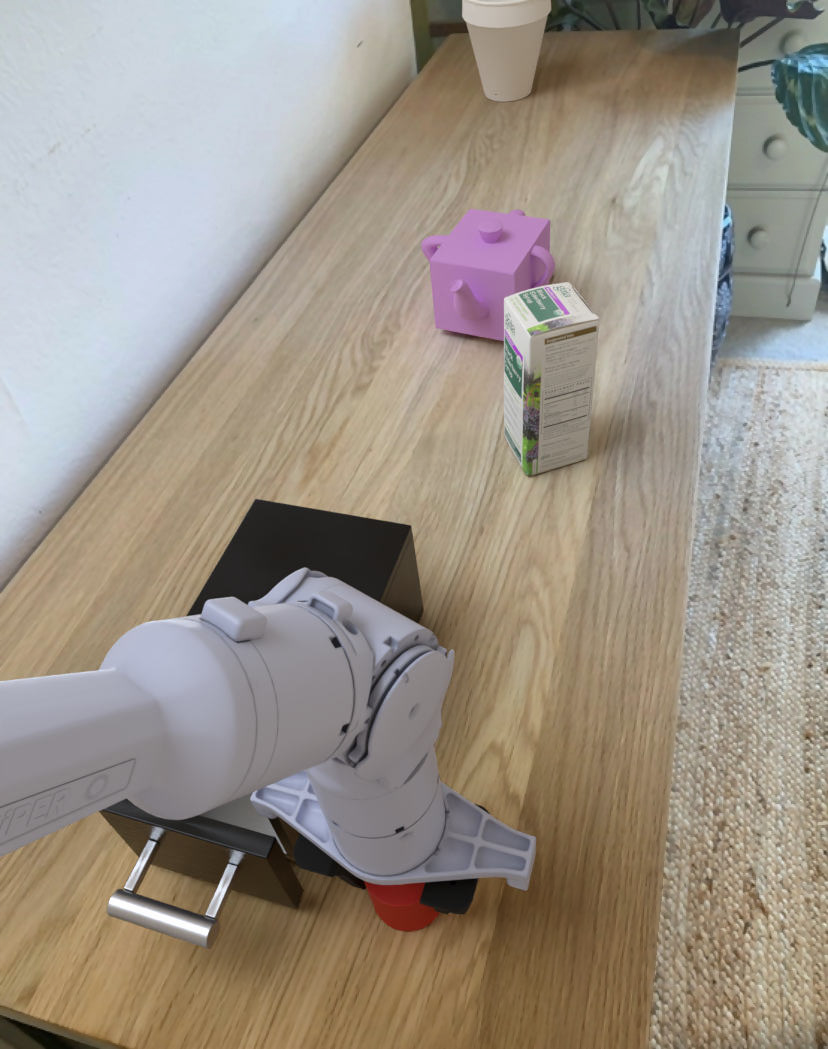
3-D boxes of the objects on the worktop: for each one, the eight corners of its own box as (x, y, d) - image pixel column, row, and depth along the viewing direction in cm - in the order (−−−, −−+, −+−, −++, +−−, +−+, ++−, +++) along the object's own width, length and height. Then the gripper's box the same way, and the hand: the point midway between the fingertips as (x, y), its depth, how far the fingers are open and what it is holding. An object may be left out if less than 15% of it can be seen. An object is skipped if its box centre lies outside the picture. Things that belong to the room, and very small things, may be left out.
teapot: (518, 383, 81) (518, 290, 73) (387, 356, 85) (374, 266, 78) (577, 281, 91) (582, 190, 84) (457, 262, 96) (452, 175, 88)
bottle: (433, 941, 48) (425, 908, 44) (361, 919, 50) (346, 885, 45) (454, 865, 51) (448, 828, 47) (385, 846, 52) (374, 808, 48)
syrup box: (501, 437, 76) (498, 295, 65) (563, 419, 77) (570, 276, 66) (526, 479, 72) (527, 336, 61) (591, 459, 73) (602, 315, 62)
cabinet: (362, 775, 56) (339, 698, 48) (205, 734, 59) (161, 657, 52) (424, 610, 64) (411, 524, 57) (283, 582, 67) (255, 498, 60)
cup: (543, 109, 121) (545, 1, 111) (458, 109, 123) (452, 4, 113) (554, 74, 128) (557, -30, 118) (474, 75, 131) (470, -27, 121)
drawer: (267, 987, 47) (231, 943, 41) (105, 931, 50) (50, 883, 44) (369, 722, 57) (351, 657, 51) (230, 689, 60) (199, 624, 54)
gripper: (551, 737, 40) (545, 850, 50) (269, 672, 44) (317, 788, 54) (516, 887, 35) (518, 978, 45) (207, 799, 39) (272, 901, 49)
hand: (407, 883), depth 49 cm, fingers closed on bottle, 4 cm apart
